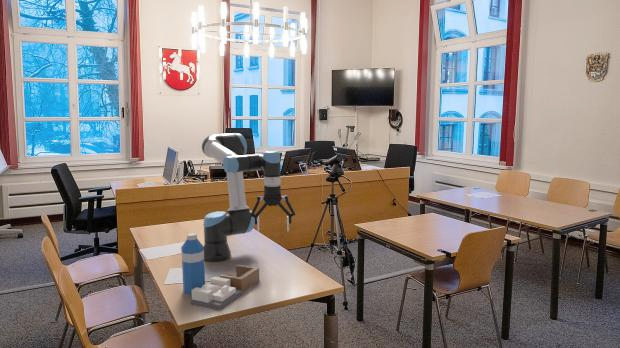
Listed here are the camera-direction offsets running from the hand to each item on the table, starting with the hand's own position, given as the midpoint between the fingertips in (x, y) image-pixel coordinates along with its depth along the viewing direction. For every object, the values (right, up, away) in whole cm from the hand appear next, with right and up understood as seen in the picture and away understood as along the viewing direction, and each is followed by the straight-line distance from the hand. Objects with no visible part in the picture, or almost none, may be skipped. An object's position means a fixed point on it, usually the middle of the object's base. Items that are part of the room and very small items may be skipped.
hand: (273, 230), depth 211 cm
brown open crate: (-14, -23, -6) cm, 28 cm away
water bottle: (-33, -24, -12) cm, 43 cm away
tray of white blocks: (-22, -29, -21) cm, 42 cm away
